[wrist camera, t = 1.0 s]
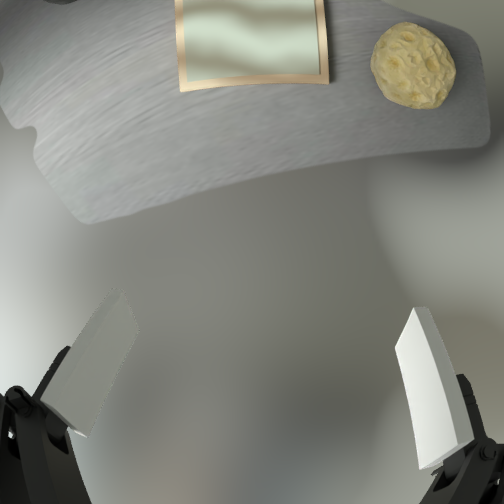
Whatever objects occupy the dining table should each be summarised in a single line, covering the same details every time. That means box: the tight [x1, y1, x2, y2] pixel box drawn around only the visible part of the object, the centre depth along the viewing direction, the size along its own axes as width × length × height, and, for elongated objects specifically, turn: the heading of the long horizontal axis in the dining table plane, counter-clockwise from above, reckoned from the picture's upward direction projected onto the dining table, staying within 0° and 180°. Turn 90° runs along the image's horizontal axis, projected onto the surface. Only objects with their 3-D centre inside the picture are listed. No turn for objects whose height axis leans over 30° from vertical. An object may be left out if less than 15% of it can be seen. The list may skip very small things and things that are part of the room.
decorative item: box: [370, 22, 456, 109], centre depth 20 cm, size 10×10×10 cm
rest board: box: [175, 0, 329, 92], centre depth 21 cm, size 18×16×1 cm
